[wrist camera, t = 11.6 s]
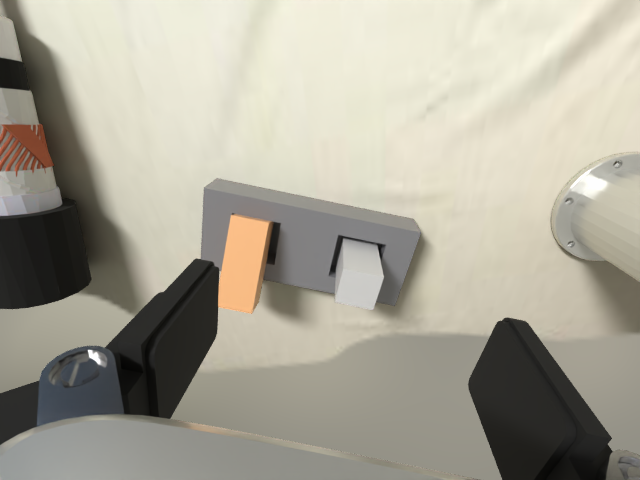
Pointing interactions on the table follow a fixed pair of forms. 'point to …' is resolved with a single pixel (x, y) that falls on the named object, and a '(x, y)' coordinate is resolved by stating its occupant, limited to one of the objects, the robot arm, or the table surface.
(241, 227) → the plug
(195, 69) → the table surface
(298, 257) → the power strip
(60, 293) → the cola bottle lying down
